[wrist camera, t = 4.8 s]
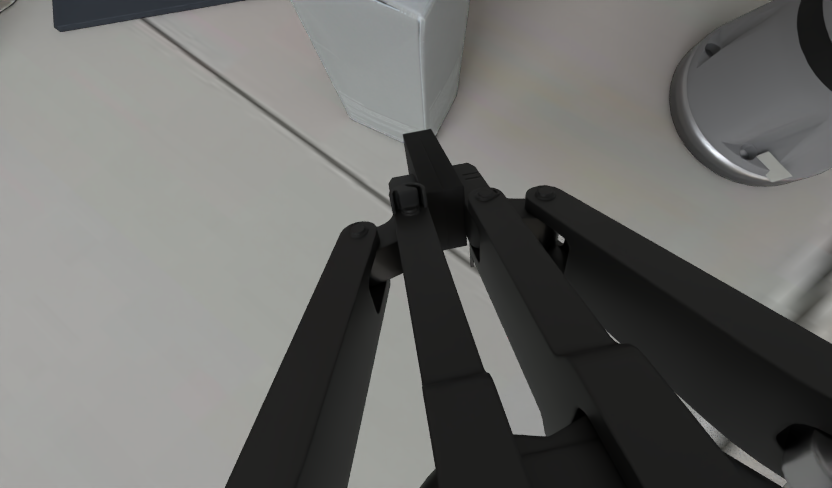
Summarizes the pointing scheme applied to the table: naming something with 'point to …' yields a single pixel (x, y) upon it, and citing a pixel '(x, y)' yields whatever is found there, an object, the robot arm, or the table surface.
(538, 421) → the table surface
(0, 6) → the webcam
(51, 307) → the table surface
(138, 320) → the table surface
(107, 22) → the mat
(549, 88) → the table surface
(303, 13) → the cosmetic box
